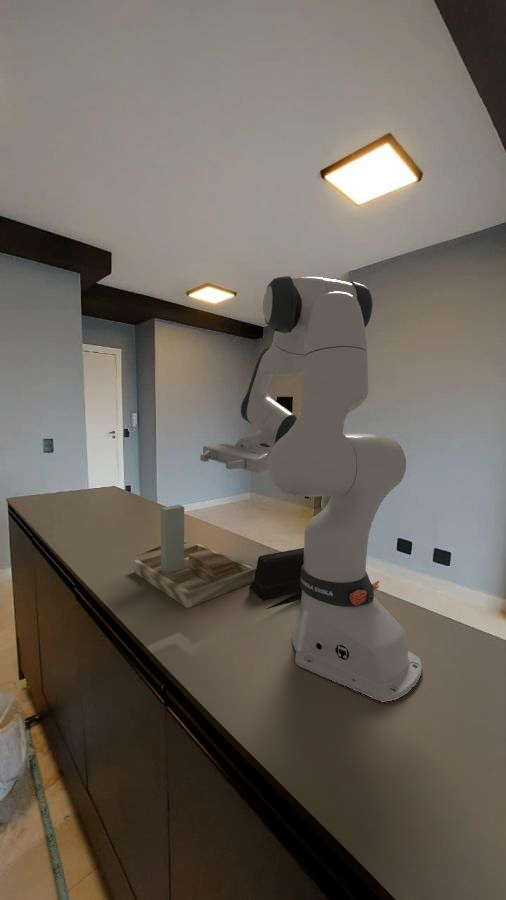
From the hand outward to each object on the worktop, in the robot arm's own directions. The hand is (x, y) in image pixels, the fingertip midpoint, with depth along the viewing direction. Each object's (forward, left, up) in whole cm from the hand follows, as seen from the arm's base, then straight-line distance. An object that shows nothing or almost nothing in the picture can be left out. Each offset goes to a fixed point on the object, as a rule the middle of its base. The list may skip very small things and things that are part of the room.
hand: (214, 462), depth 96 cm
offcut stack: (-2, +3, -28) cm, 28 cm away
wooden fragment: (+21, -3, -30) cm, 37 cm away
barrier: (-21, -9, -30) cm, 38 cm away
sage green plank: (+1, +12, -28) cm, 31 cm away
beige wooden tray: (-1, +7, -30) cm, 31 cm away
